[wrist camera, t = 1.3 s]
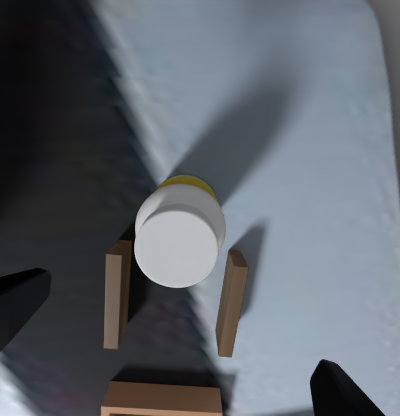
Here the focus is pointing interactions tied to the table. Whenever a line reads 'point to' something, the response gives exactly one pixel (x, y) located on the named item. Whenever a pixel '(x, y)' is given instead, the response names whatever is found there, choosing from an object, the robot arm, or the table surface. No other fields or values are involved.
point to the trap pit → (160, 400)
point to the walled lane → (119, 297)
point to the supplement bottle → (179, 232)
